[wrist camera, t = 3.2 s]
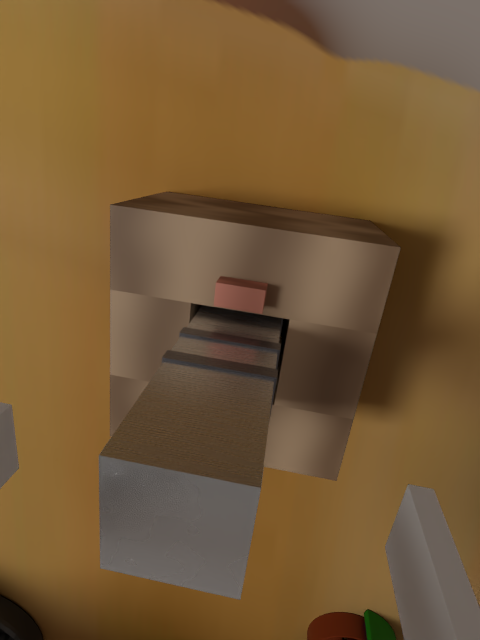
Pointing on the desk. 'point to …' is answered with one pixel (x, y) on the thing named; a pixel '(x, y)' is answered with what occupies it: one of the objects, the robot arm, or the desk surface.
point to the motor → (350, 627)
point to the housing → (253, 306)
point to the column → (193, 457)
